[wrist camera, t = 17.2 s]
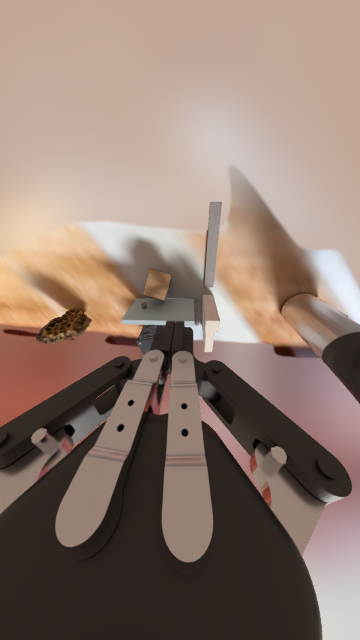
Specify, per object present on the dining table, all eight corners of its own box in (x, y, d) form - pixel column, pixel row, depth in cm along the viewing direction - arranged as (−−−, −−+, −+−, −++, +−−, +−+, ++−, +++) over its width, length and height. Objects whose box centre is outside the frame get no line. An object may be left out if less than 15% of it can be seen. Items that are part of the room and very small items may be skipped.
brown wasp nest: (98, 305, 50) (65, 334, 37) (102, 316, 52) (73, 347, 40) (64, 306, 51) (22, 334, 39) (70, 317, 53) (32, 347, 41)
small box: (151, 335, 55) (143, 357, 46) (144, 320, 52) (135, 341, 43) (180, 331, 53) (177, 353, 45) (175, 315, 50) (171, 335, 41)
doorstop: (170, 274, 36) (164, 300, 36) (170, 280, 44) (165, 301, 44) (149, 268, 36) (143, 294, 36) (153, 275, 44) (148, 296, 44)
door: (135, 293, 46) (119, 314, 36) (197, 294, 45) (199, 316, 34) (137, 301, 47) (122, 324, 37) (197, 302, 46) (198, 325, 36)
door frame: (222, 202, 34) (238, 192, 22) (209, 326, 51) (214, 357, 39) (208, 202, 34) (216, 193, 22) (200, 325, 51) (202, 357, 40)
